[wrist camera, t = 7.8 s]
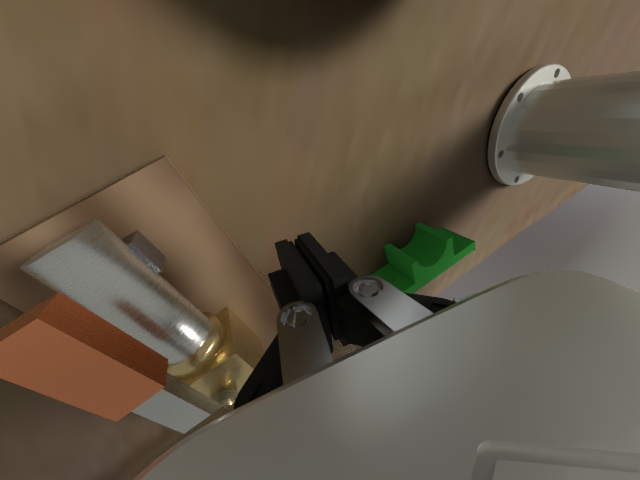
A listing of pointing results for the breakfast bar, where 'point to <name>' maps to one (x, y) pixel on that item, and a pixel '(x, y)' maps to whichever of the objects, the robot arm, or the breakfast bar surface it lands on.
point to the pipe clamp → (423, 257)
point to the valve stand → (166, 235)
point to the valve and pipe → (148, 305)
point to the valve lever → (98, 367)
